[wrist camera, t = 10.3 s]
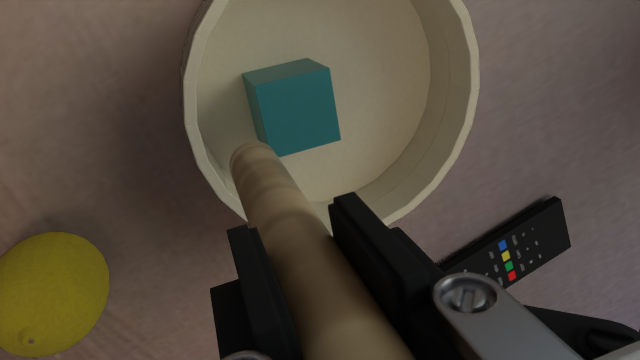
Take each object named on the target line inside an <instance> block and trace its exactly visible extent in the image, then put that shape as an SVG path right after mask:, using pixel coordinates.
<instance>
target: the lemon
mask: <svg viewBox="0 0 640 360" xmlns="http://www.w3.org/2000/svg"><path fill="white" fill-rule="evenodd" d="M109 288H110V280H109V270H108V266H107V264H106V262H105V259H104V257H103V255H102V254H101V252H100V251H99V250H98V249H97V248H96V247H95V245H93V244H92V243H91V242H89V241H88V240H86V239H85V238H82V237H80V236H77V235H75V234H71V233H66V232H46V233H42V234H37V235H34V236H32V237H29V238H27V239H25V240H23V241H21V242H19V243H18V244H16V245H15V246H14V247H13V248H11V249H10V250H9V251H7V252H6V253H5V254H4V255H3V256H2V257H1V259H0V347H1V348H3V349H4V350H6V351H8V352H11V353H13V354H16V355H19V356H25V357H43V356H49V355H54V354H57V353H59V352H62V351H65V350H67V349H68V348H70V347H72V346H73V345H75V344H76V343H78V342H79V341H80V340H81V339H83V338H84V337H85V336H86V335H87V334H88V333H89V332H90V331H91V329H92V328H93V327H94V325H95V324H96V322H97V320H98V319H99V317H100V315H101V313H102V312H103V310H104V308H105V305H106V302H107V297H108V293H109Z"/></svg>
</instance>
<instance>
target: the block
mask: <svg viewBox="0 0 640 360" xmlns="http://www.w3.org/2000/svg"><path fill="white" fill-rule="evenodd" d="M242 78H243V82H244V86H245V90H246V94H247V98H248V102H249V107H250V111H251V115H252V119H253V123H254V127H255V131H256V135H257V138H258V140H259V141H260V142H263V143H265V144H267V145H269V146H270V147H271V148H272V149H273V150H274V151H275V153H276V154H277V156H278V157H283V156H286V155H290V154H294V153H297V152H301V151H304V150H308V149H311V148H315V147H318V146H322V145H325V144H329V143H333V142H336V141H340V140H341V135H340V129H339V123H338V117H337V111H336V104H335V98H334V92H333V86H332V80H331V73H330V68H329V67H327V66H324V65H322V64H320V63H318V62H316V61H313V60H311V59H309V58H304V59H300V60H296V61H291V62H287V63H283V64H279V65H274V66H270V67H266V68H262V69H258V70H253V71H249V72H245V73H242Z"/></svg>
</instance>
